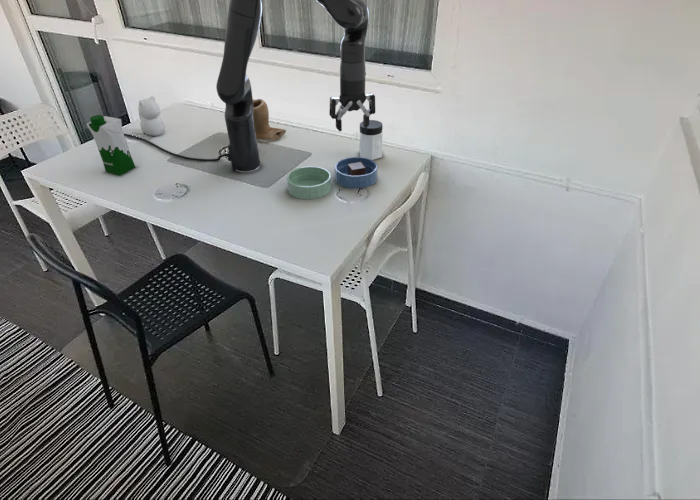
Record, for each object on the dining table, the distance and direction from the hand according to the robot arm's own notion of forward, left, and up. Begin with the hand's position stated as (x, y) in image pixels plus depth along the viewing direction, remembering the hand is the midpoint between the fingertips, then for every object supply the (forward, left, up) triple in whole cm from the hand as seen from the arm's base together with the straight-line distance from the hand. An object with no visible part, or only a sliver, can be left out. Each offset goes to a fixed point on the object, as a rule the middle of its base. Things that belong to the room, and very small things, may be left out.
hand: (352, 128), depth 143 cm
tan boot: (-37, +34, -18) cm, 53 cm away
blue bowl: (+1, -1, -18) cm, 18 cm away
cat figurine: (-84, +39, -18) cm, 94 cm away
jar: (+6, +18, -18) cm, 26 cm away
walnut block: (+1, -1, -17) cm, 17 cm away
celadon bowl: (-14, -8, -18) cm, 24 cm away
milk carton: (-83, +6, -18) cm, 85 cm away
